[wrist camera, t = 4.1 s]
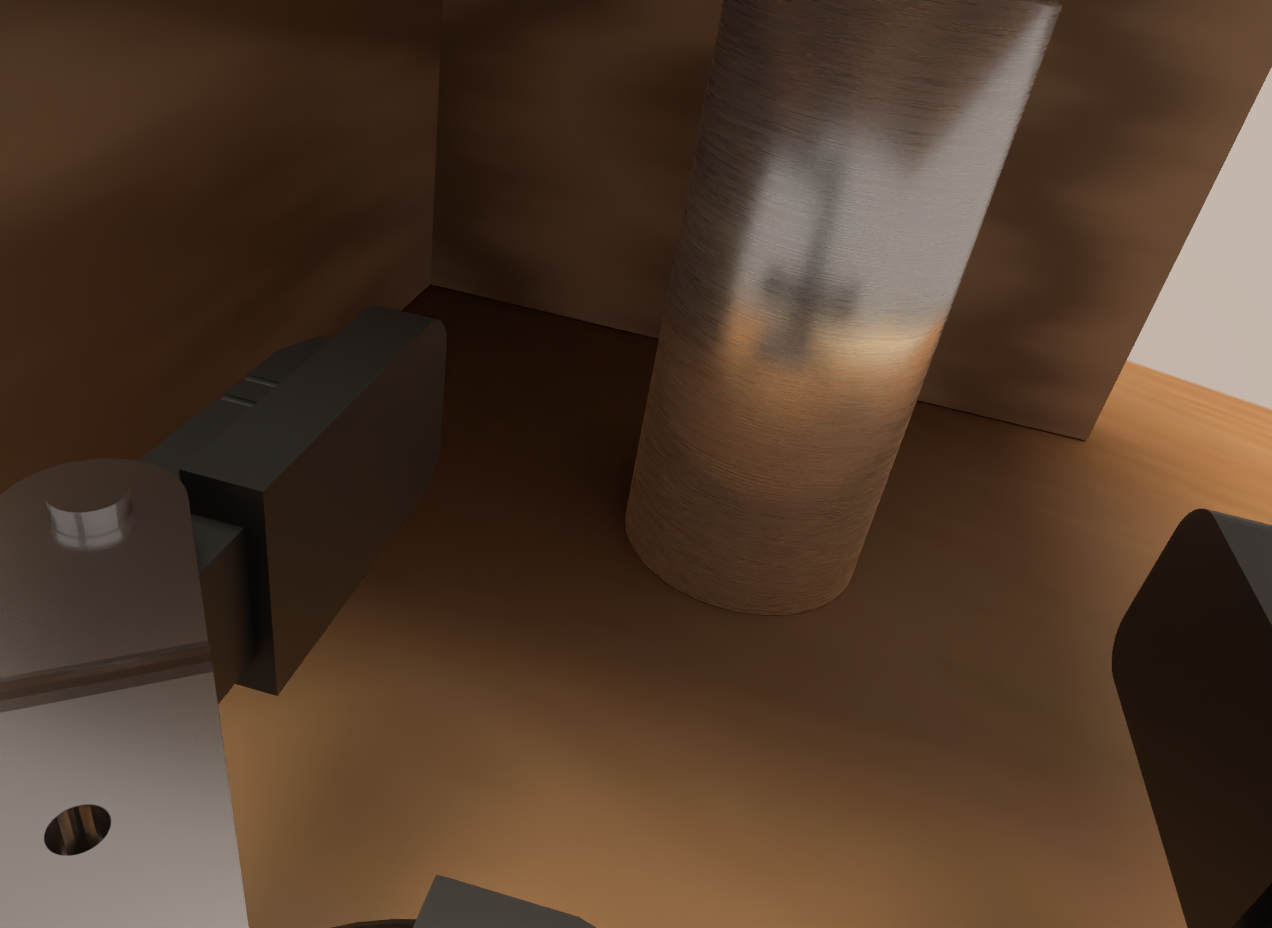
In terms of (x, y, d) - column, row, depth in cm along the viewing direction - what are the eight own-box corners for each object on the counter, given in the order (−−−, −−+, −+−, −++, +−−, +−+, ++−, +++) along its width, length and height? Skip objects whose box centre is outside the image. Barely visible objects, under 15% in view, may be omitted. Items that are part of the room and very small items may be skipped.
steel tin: (600, 576, 19) (713, -53, 13) (649, 448, 23) (752, -70, 17) (852, 642, 18) (1092, 23, 12) (855, 500, 22) (1036, -13, 16)
